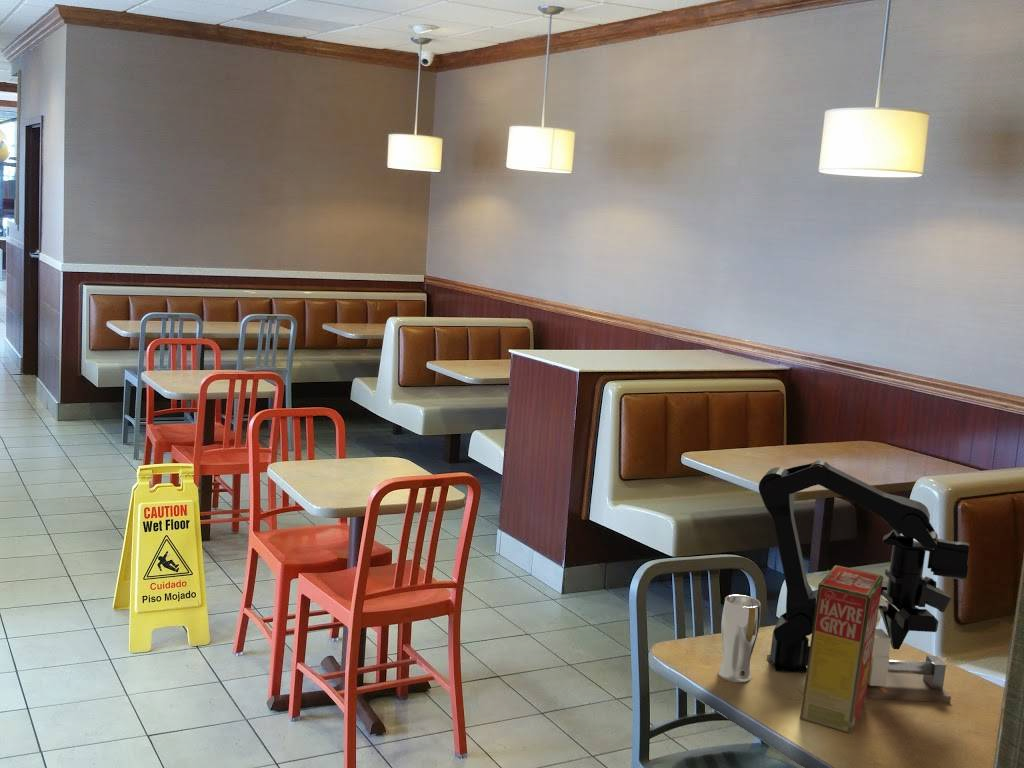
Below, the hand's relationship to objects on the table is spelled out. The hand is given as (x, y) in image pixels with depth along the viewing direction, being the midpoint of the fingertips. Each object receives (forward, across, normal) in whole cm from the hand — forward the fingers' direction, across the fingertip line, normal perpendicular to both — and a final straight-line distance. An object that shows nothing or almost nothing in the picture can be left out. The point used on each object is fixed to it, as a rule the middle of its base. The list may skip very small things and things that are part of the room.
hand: (895, 648), depth 193 cm
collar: (+6, 0, +4) cm, 7 cm away
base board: (+8, 0, -1) cm, 8 cm away
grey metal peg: (+7, 0, -1) cm, 7 cm away
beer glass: (+8, +2, +29) cm, 31 cm away
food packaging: (+8, -11, +15) cm, 20 cm away
